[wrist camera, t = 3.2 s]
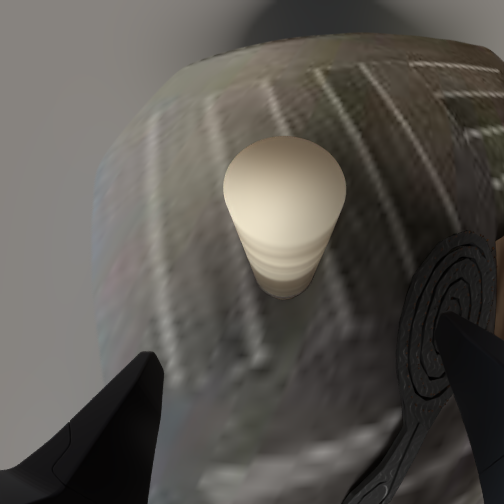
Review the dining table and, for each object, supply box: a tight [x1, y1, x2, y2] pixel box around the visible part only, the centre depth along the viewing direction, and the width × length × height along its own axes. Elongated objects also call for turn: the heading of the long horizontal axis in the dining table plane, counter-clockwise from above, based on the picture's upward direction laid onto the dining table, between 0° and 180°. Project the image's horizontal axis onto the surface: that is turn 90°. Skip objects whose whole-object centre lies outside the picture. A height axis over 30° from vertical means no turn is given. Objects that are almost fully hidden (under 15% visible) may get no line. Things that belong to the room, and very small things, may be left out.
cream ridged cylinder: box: [223, 136, 346, 300], centre depth 14 cm, size 4×4×12 cm
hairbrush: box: [342, 231, 498, 504], centre depth 15 cm, size 8×4×25 cm
